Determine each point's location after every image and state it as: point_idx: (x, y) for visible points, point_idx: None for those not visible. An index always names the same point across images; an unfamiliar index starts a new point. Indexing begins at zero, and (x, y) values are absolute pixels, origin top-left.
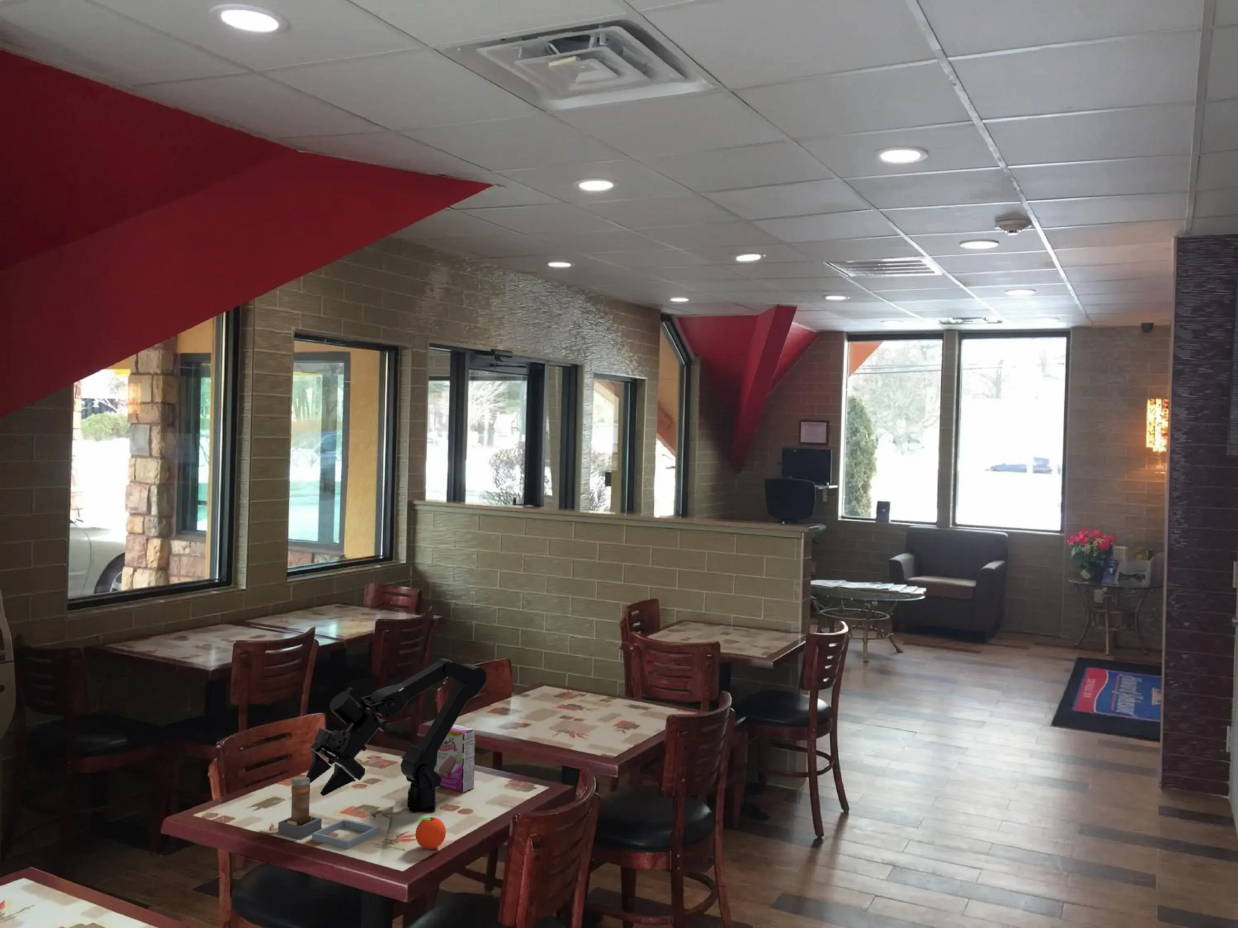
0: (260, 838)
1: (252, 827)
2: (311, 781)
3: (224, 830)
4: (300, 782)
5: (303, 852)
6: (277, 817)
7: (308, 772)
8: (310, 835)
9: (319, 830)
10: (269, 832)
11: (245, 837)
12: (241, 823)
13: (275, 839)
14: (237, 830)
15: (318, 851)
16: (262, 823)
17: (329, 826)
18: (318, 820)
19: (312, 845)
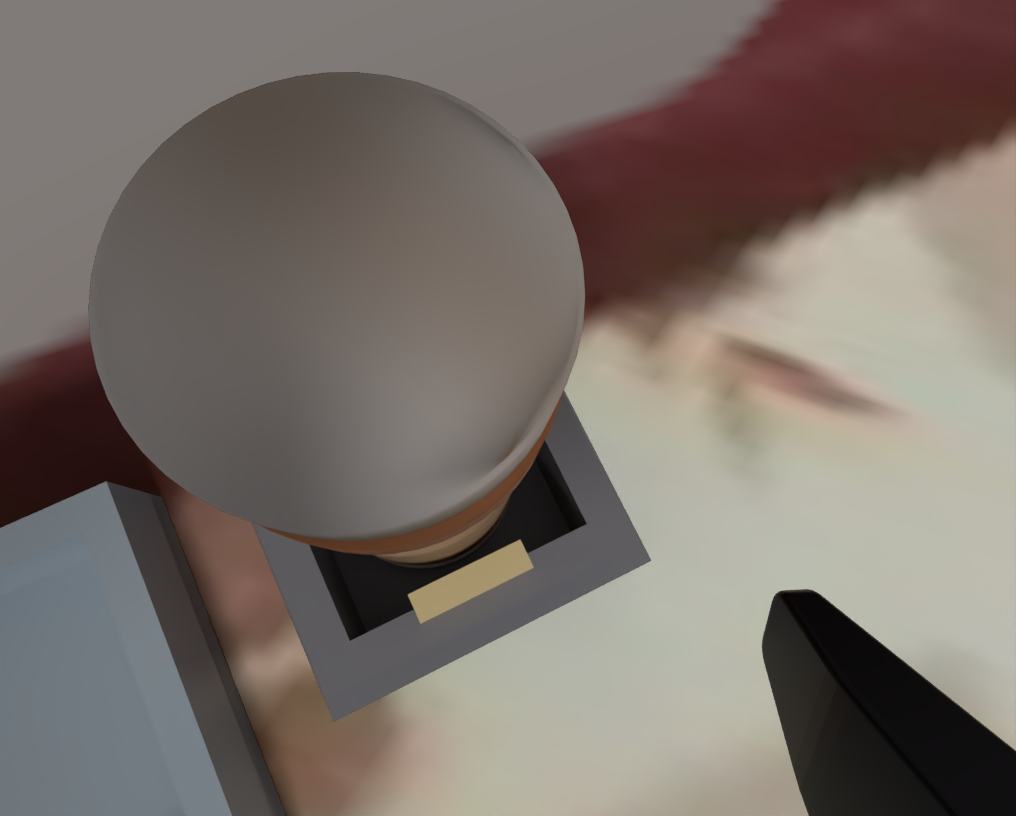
0: (590, 219)
1: (863, 249)
2: (798, 772)
3: (899, 68)
4: (138, 198)
5: (81, 388)
6: (1007, 499)
7: (984, 763)
8: (252, 522)
9: (128, 578)
10: (682, 319)
11: (674, 139)
12: (993, 210)
13: None
14: (853, 139)
15: (11, 501)
16: (917, 343)
17: (167, 723)
18: (307, 647)
19: (176, 510)
